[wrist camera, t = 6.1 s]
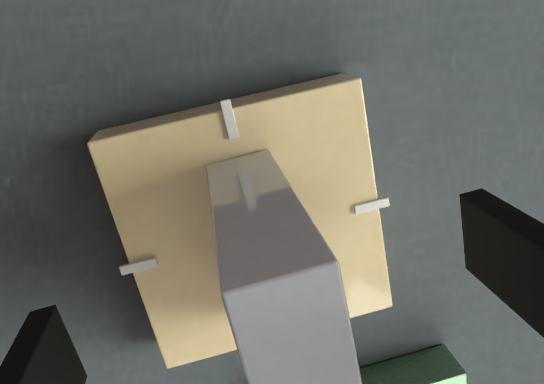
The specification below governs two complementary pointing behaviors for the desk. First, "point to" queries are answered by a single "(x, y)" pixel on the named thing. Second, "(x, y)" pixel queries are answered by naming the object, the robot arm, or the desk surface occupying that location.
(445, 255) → the desk surface
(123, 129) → the panel
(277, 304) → the tap handle
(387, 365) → the control block
